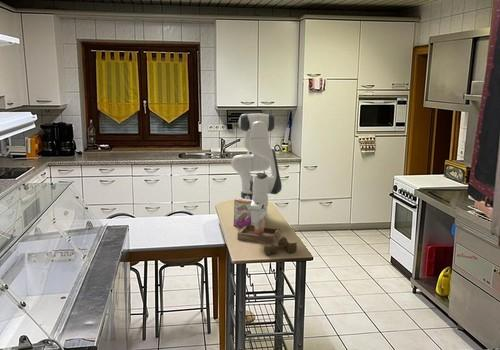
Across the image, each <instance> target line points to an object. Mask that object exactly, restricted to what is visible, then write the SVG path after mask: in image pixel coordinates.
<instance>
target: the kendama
mask: <svg viewBox="0 0 500 350" xmlns="http://www.w3.org/2000/svg"><path fill="white" fill-rule="evenodd" d="M297 244H298V242H289V241H288V238H287V237H285V236H284V237H281V238H280V239H278V241H277V245H275V244H270V245H268V244H267V245H264V246H263V252H264V254H265V255H266V256H270V254H276V253H277V251H280V250H281V249H284V248H285V249H286V250H287V252H288V253H289V254H294V253H296V251H297V248H298V245H297Z"/></svg>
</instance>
